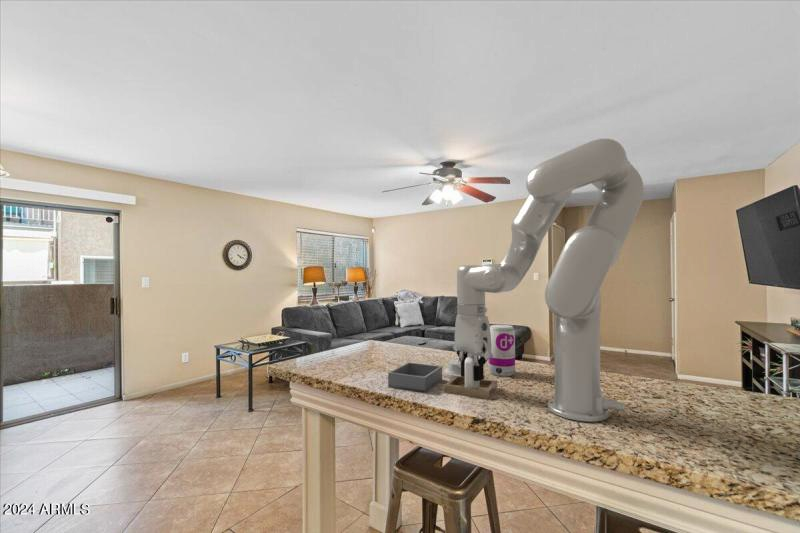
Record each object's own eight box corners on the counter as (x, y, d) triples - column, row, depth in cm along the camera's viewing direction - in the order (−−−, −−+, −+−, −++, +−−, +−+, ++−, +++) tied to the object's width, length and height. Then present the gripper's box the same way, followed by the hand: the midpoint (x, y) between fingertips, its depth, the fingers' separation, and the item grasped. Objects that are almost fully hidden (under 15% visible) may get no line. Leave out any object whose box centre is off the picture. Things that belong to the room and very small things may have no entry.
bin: (442, 379, 108) (442, 366, 109) (425, 392, 97) (425, 377, 97) (408, 375, 114) (408, 362, 114) (388, 386, 102) (388, 372, 102)
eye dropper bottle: (459, 387, 99) (458, 343, 99) (474, 384, 102) (474, 341, 102) (469, 391, 95) (469, 345, 96) (485, 388, 98) (485, 343, 98)
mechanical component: (437, 376, 113) (466, 382, 107) (437, 362, 113) (466, 367, 107) (453, 369, 121) (481, 375, 114) (453, 356, 121) (481, 361, 114)
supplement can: (518, 376, 112) (518, 327, 112) (491, 376, 112) (491, 327, 112) (510, 369, 120) (510, 324, 120) (485, 369, 120) (485, 324, 120)
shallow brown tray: (497, 388, 101) (497, 380, 101) (489, 399, 92) (489, 391, 92) (455, 382, 106) (455, 375, 106) (444, 392, 97) (444, 384, 97)
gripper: (504, 312, 94) (505, 383, 94) (460, 307, 108) (461, 369, 108) (484, 314, 90) (485, 388, 90) (440, 309, 104) (441, 373, 104)
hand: (472, 377), depth 99 cm, fingers closed on eye dropper bottle, 4 cm apart
